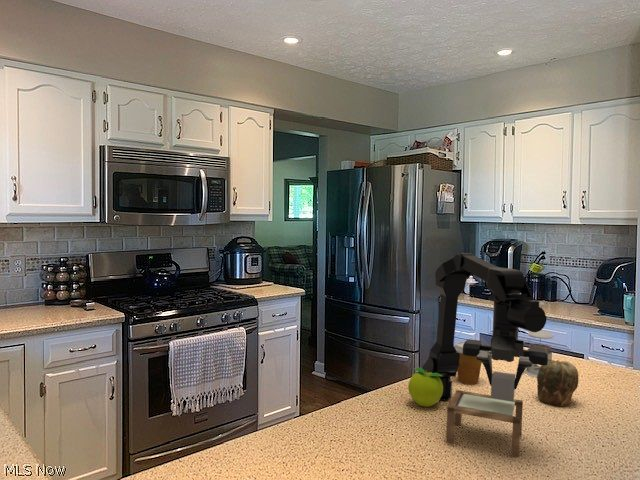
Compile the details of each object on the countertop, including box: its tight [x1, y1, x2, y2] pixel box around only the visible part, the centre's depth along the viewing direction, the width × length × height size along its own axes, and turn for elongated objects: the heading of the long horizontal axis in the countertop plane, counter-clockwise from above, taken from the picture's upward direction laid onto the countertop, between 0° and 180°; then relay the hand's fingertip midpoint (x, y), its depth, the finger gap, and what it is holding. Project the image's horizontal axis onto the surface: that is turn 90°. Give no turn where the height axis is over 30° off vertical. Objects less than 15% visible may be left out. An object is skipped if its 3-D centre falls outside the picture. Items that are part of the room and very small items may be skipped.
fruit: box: [408, 366, 443, 408], centre depth 142 cm, size 9×9×10 cm
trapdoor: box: [457, 394, 516, 416], centre depth 121 cm, size 12×9×1 cm
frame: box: [445, 389, 524, 458], centre depth 121 cm, size 16×13×8 cm
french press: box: [522, 301, 554, 379], centre depth 172 cm, size 10×12×25 cm
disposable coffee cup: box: [454, 341, 483, 385], centre depth 163 cm, size 10×10×12 cm
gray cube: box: [490, 370, 516, 401], centre depth 120 cm, size 5×5×5 cm
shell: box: [536, 359, 580, 407], centre depth 147 cm, size 11×11×12 cm
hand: (503, 387), depth 120 cm, fingers closed on gray cube, 5 cm apart
